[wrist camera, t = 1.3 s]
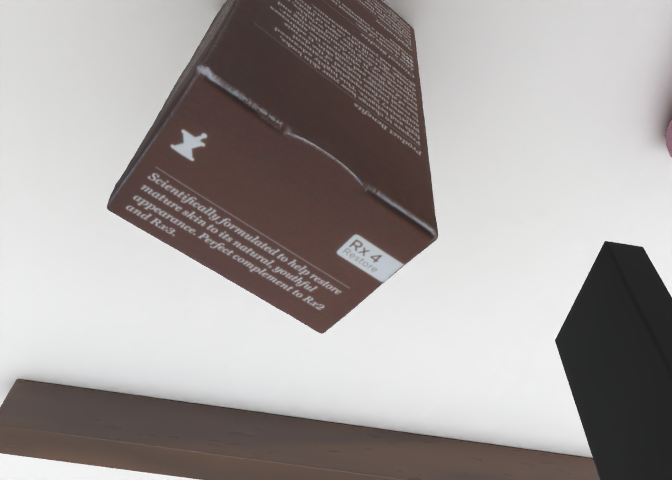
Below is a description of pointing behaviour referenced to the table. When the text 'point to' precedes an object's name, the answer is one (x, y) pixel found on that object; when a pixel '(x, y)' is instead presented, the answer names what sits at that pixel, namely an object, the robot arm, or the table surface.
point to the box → (292, 155)
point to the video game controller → (669, 138)
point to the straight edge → (247, 442)
